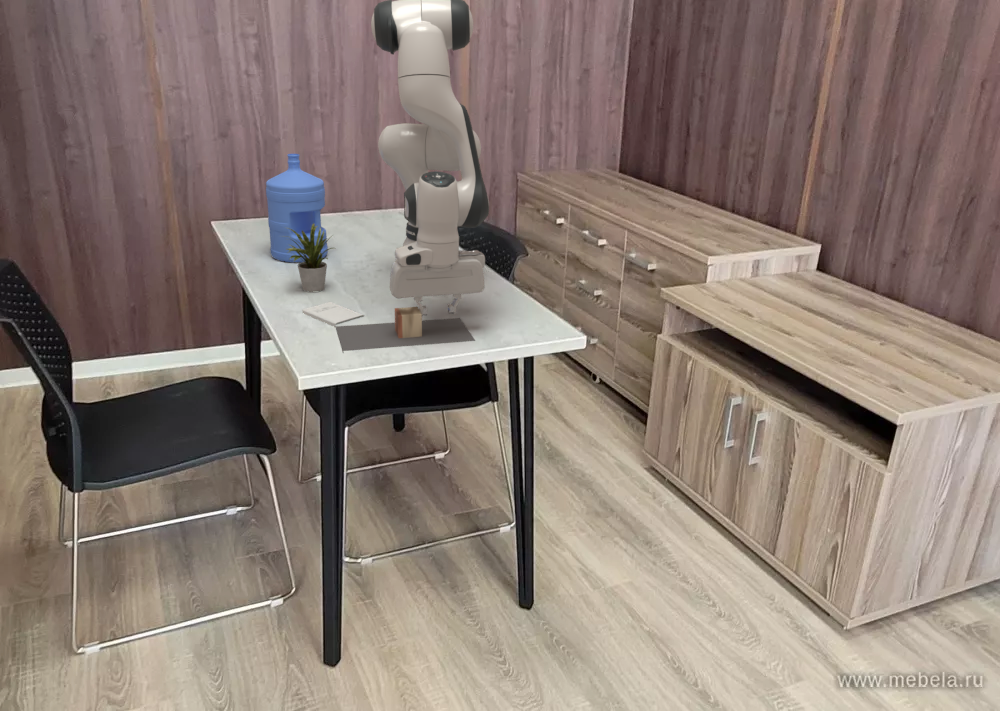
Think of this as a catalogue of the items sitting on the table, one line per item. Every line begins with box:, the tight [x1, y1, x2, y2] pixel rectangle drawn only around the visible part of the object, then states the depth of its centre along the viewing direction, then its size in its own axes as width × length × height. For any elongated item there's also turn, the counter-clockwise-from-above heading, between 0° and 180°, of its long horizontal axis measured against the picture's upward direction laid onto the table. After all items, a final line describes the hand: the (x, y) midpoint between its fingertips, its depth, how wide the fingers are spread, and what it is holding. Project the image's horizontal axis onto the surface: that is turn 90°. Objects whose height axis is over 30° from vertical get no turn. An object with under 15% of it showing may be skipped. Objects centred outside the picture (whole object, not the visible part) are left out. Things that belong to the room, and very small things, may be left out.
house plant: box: [284, 223, 337, 293], centre depth 202 cm, size 14×14×16 cm
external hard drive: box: [302, 301, 365, 328], centre depth 187 cm, size 2×8×12 cm
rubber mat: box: [335, 317, 476, 354], centre depth 177 cm, size 14×28×1 cm, turn 106°
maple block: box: [394, 306, 423, 338], centre depth 176 cm, size 5×5×5 cm
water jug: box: [265, 153, 329, 263], centre depth 225 cm, size 16×16×28 cm
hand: (437, 313), depth 177 cm, fingers open, 5 cm apart
